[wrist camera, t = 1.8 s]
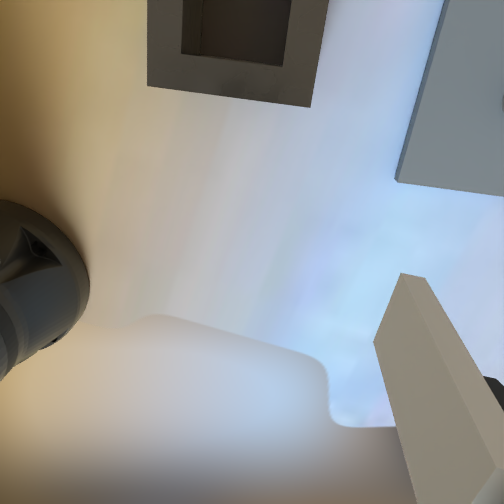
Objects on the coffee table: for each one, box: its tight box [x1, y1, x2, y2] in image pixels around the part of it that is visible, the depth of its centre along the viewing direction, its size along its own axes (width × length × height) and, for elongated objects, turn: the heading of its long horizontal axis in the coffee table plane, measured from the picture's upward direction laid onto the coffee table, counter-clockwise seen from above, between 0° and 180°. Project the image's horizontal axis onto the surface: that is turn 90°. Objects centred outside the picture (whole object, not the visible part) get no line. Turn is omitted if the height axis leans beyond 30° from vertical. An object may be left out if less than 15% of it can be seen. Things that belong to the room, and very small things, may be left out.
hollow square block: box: [147, 0, 329, 108], centre depth 25 cm, size 10×10×6 cm
